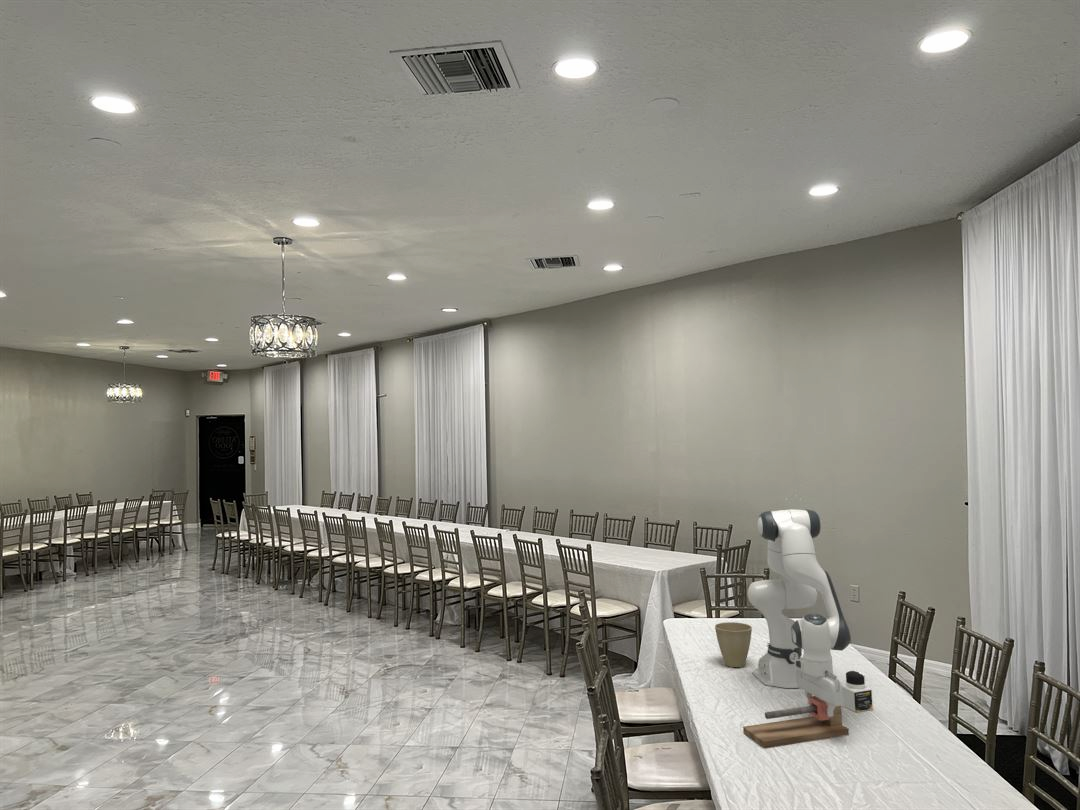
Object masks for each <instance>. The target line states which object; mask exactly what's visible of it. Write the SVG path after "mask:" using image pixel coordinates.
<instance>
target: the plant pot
mask: <svg viewBox="0 0 1080 810" xmlns="http://www.w3.org/2000/svg"><path fill="white" fill-rule="evenodd" d="M714 629H715V635H716V640H717V643H718V647H719V650H720V653H721V655H722V659H723V662H724V664H725V666H726V665H727V666H726V667H728V666H729V667H728V668H731V667H741V668H744V667H743V666H745V664H746V662H747V658H748V655H749V651H750V646H751V639H752V631H753V627H752V625H750V624H747V623H744V622H738V621H737V622H735V621H733V622H732V621H729V622H728V621H727V622H718V623H716V624H715V625H714Z"/></svg>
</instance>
